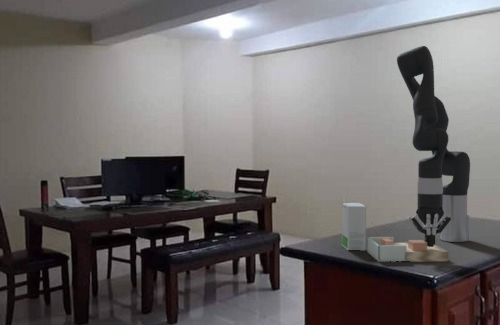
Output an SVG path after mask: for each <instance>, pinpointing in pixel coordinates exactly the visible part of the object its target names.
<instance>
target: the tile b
mask: <svg viewBox="0 0 500 325" xmlns="http://www.w3.org/2000/svg"><path fill="white" fill-rule="evenodd" d="M407 243H408V248H409V249H411V250H412V251H427V242H425V240H423V239H408V240H407Z"/></svg>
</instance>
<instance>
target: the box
mask: <svg viewBox="0 0 500 325" xmlns="http://www.w3.org/2000/svg"><path fill="white" fill-rule="evenodd" d="M366 239H367V240H366V241H367V242H366V243H367V244H366V245H367V246H366V252H367V253H368V255H370V256H371V257H372V258H373V259H374V260H377V261H376V262H377V263H397V262H396V261H399V262H398V263H401V261H407V246H406V245H396V244H394V243H395V242H394V240H395V238H394V236H370V237H369V236H367V237H366ZM381 239H390V240H392V241H393V245H389V246H381ZM390 261H391V262H390Z"/></svg>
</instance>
